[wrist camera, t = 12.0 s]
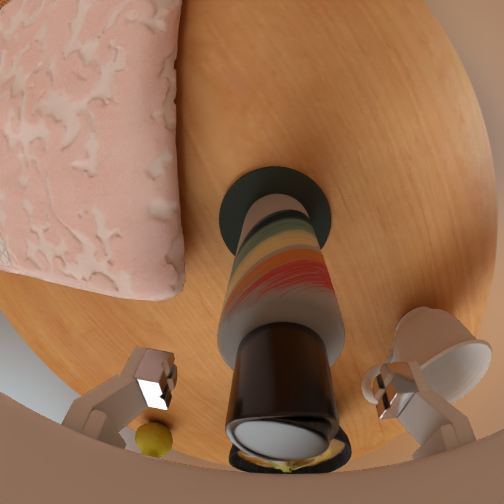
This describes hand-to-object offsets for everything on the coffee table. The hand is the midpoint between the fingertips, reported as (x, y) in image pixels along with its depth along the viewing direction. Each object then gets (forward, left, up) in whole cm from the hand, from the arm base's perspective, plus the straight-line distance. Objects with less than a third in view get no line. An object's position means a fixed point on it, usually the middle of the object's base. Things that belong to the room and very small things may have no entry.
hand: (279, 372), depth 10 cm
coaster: (0, 0, -17) cm, 17 cm away
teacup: (+12, +17, -17) cm, 27 cm away
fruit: (+40, -18, -17) cm, 47 cm away
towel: (-11, -25, -17) cm, 32 cm away
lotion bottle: (0, 0, -17) cm, 17 cm away
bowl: (+31, +5, -17) cm, 36 cm away
